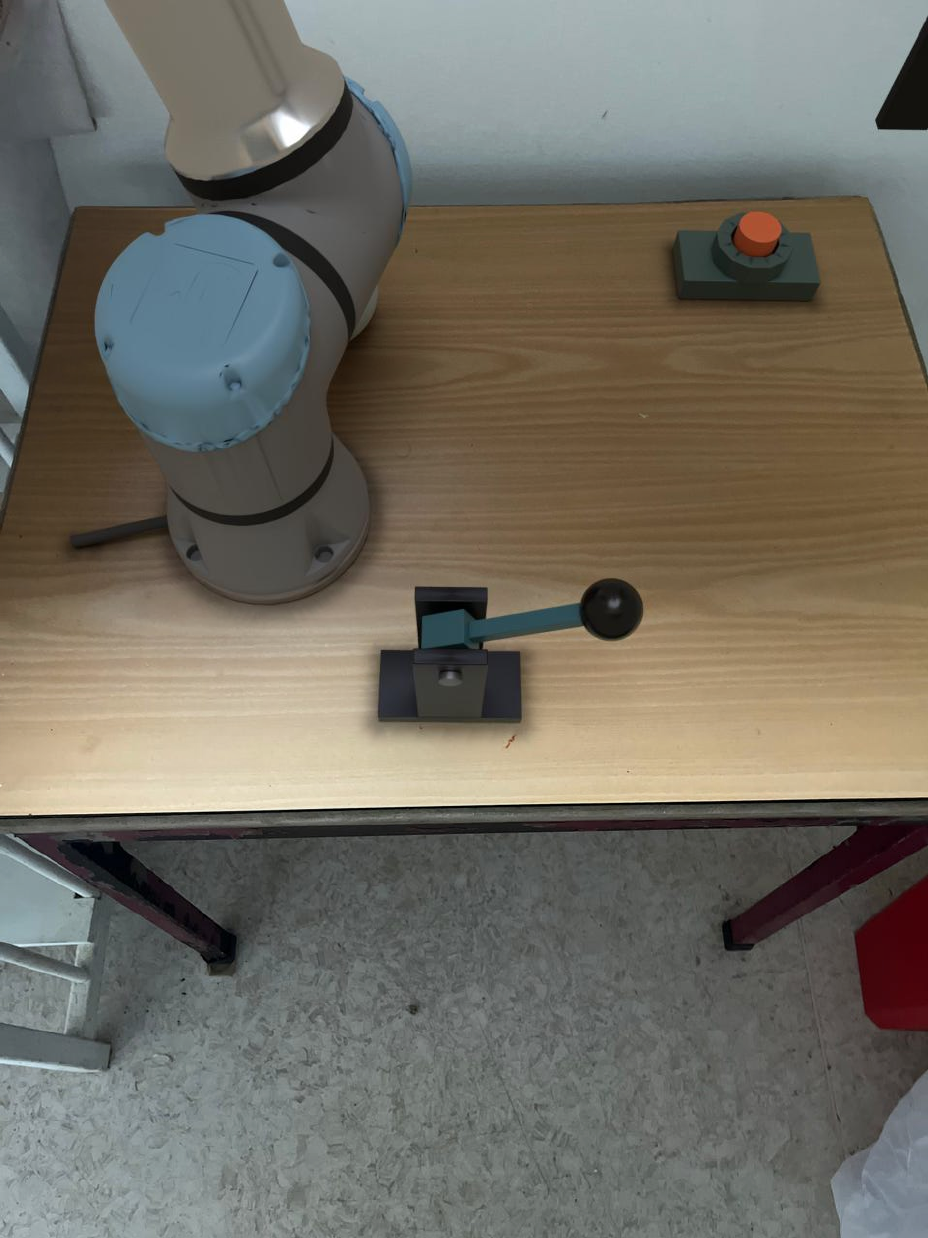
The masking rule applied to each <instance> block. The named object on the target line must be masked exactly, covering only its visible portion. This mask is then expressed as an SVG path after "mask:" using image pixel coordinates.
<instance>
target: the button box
mask: <svg viewBox="0 0 928 1238" xmlns="http://www.w3.org/2000/svg"><path fill="white" fill-rule="evenodd" d="M748 213H749V212H747V211H746V212H739V213H736V214H734V215H731V216H729V217H727V218H725V219H724V220H723V221H722V223H721V224H720V226H719V228H718V229H717V230H693V229H692V230H691V229H690V230H688V229H678V230H677V233H676V235H675V239H674V242H673V245H672V249H671V250H672V257H673V267H674V275H675V283H676V289H677V298H678V299H681V300H735V301H736V300H739V301H741V300H742V301H785V302H786V301H787V302H788V301H789V302H791V301H793V302H794V301H795V302H812V300H813V298H814V297H815V294H816V292H817V290H818V288H819V287H820V285H821V277H820V272H819V269H818V264H817V259H816V254H815V251H814V245H813V240H812V235H811V233H810V232H795V231H794V232H793V231H792V232H791V231H790V230H789V229H788V228H787V227H785V225H784V224H783V223H782V222H781V221H780V220H778V219H777V220H778V221H779V223H780V225H781V229H782V230H781V234H780V237H779V239H778V241H777V243H776V246H775V248H774V250H773V252H772V253H771V254H769V255H768V256H766V257H750V256H747V255H745V254H743V253H740V252H739V251H738V250H737V249H736V247H735V245H734V242H733V239H734V235H735V233H736V230H737V227H738V225H739V222H740V220H741V218H742V217H743V216H744V215H746V214H748Z"/></svg>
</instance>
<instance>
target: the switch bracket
mask: <svg viewBox="0 0 928 1238" xmlns="http://www.w3.org/2000/svg"><path fill="white" fill-rule="evenodd" d="M488 588H489V587H487V586H424V585H423V586H421V585H419V586H414V610H415V625H416V636H417V647H415V648H413V649H380V660H379V661H380V662H379V679H378V702H377V719H378V721H379V722H389V723H390V722H391V723H392V722H393V723H394V722H397V723H399V722H401V723H480V724H481V723H482V724H483V723H484V724H485V723H490V724H491V723H492V724H493V723H494V724H497V723H498V724H501V723H502V724H520V723H521V722H522V678H521V675H522V674H521V672H522V671H521V651H519V650H516V651H514V650H512V651H511V650H489V649H488V648H484V642H481V643H479V649H428V648H421V644H422V616H427V615H432V614H438V613H444V612H449V611H455V610H461V609H464V610H465V611H466V612H467V613H469V614H470V615H471V616H472V617H473V618H474V619H475V620H481V619H487V613H488V605H489V589H488Z"/></svg>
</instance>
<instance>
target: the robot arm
mask: <svg viewBox="0 0 928 1238" xmlns="http://www.w3.org/2000/svg"><path fill="white" fill-rule="evenodd" d="M103 2H104V4H105V6H106V7H107V9H108V10H109V13H110V14H111V15H112V17H113V19H114V21H115V22H116V24H117V26H118V27H119V29H120V31H121V33H122V34H123V36H124V38H125V39H126V41H127V43H128V45H129V46H130V48H131V50H132V52H133V53H134V54H135V57H136V58H137V60H138V62H139V64H140V65H141V67H142V69H143V70H144V72H145V73H146V75H147V77H148V79H149V81H150V82H151V84H152V86H153V87H154V89H155V91H156V92H157V95H158V96H159V98H160V99H161V101H162V103H163V105H164V106H165V108H166V109H167V111H168V113H169V118H168V121H167V126H166V131H165V135H164V137H163V138H164V139H163V151H164V155H165V158H166V160H167V162H168V163H169V166H170V168H171V169H172V170H173V172H174V174H175V175H176V177H177V178H178V180H179V182H180V184H181V185H182V187H183V188H184V189H185V191H186V193H187V195H188V196H189V198H190V199H191V201H192V202H193V205H194V208H195V214H192V215H188V216H187V215H186V216H182V217H177V218H174V219H171V220H168V221H166V222H164V225H163V226H164V232H162V233H161V234H159V235H154V234H153V233H151V232H149V231H146V232H144V233H142V234H141V235H139V236H138V237H137V238H136V239H134V240H133V241H132V242H131V243H129V244H128V245H127V246H126V248H125V249H124V250H123V251H122V252H121V253H120V254H119V255H118V256H117V257H116V259H115V260H114V261H113V263H112V264H111V266H110V267H109V269H108V271H107V272H106V274H105V276H104V278H103V281H102V283H101V285H100V287H99V291H98V293H97V299H96V303H95V308H94V336H95V340H96V345H97V348H98V352H99V355H100V358H101V361H102V362H103V365H104V366H105V369H106V375H107V378H108V380H109V382H110V384H111V389H112V391H113V394H114V395H115V397H116V400H117V401H118V403H119V405H120V406H121V408H122V409H123V411H124V412H125V414H126V415H127V417H128V418H129V419H130V421H132V423H133V424H134V426H135V428H136V429H137V431H138V433H139V434H140V437H141V438H142V440H143V442H144V443H145V445H146V447H147V448H148V450H149V452H150V454H151V455H152V457H153V459H154V460H155V463H156V464H157V467H158V468H159V471H160V472H161V473H162V475H163V478H164V480H165V481H166V483H167V492H166V496H167V497H166V501H167V502H166V514H164V515H160V516H155V517H150V518H145V519H141V520H136V521H132V522H127V523H126V522H125V523H121V524H118V525H114V526H109V527H105V528H102V529H96V530H92V531H88V532H84V533H78V534H72V535H70V536H69V542H70V545H71V547H72V548H78V547H86V546H89V545H93V544H94V545H95V544H98V543H103V542H107V541H111V540H115V539H120V538H124V537H129V536H133V535H138V534H142V533H146V532H147V533H148V532H151V531H156V530H162V529H166V528H168V531H169V535H170V536H169V537H170V539H171V542H172V545H173V547H174V549H175V551H176V553H177V555H178V556H179V558H180V559H181V561H182V562H183V563H184V565H185V567H186V568H187V570H188V571H189V572H190V573H191V575H192V576H193V577H194V578H195V579H196V580H197V581H199V582H200V583H201V584H202V585H204V586H205V587H206V588H207V589H209V590H211V591H213V592H214V593H216V594H218V595H220V596H222V597H224V598H227V599H230V600H233V601H236V602H237V601H238V602H240V603H247V604H253V605H254V604H255V605H275V604H282V603H288V602H292V601H296V600H299V599H302V598H306V597H308V596H311V595H313V594H315V593H317V592H319V591H321V590H322V589H324V588H325V587H328V586H329V585H330V584H331V583H333V582H334V581H336V580H337V579H338V578H339V577H341V575H343V574H344V573H345V572H346V571H347V570H348V569H349V567H351V565H352V564H353V562H355V560H356V559H357V557H358V556H359V554H360V552H361V551H362V548H363V546H364V544H365V542H366V540H367V536H368V534H369V529H370V524H371V518H372V517H371V512H372V511H371V501H370V494H369V489H368V484H367V481H366V480H367V479H366V477H365V475H364V472H363V470H362V469H361V467H360V465H359V463H358V461H357V459H356V458H355V456H354V455H353V453H352V452H351V451H350V450H349V448H347V447H346V446H345V445H344V444H343V443H342V441H341V440H340V439H339V438H338V436H337V435H336V434H335V433H334V431H332V426H331V421H330V416H329V412H328V406H327V395H328V391H329V390H328V389H329V387H330V384H331V381H332V379H333V377H334V375H335V373H336V371H337V368H338V366H339V364H340V362H341V360H342V358H343V356H344V354H345V352H346V349H347V347H348V345H349V342H350V341H351V340H350V338H351V337H352V335H353V333H354V331H355V329H356V327H357V325H358V323H359V321H360V319H361V317H362V315H363V313H364V311H365V309H366V307H367V305H368V303H369V300H370V298H371V296H372V294H373V292H374V290H375V288H376V286H378V285H379V282H380V281H381V278H382V276H383V274H384V272H385V270H386V268H387V266H388V264H389V262H390V260H391V259H392V257H393V254H394V253H395V250H396V249H397V247H398V246H399V243H400V242H401V240H402V236H403V233H404V227H405V224H406V220H407V215H408V213H409V209H410V205H411V201H412V196H413V170H412V169H413V168H412V164H411V159H410V155H409V151H408V148H407V146H406V142H405V140H404V138H403V135H402V132H401V130H400V129H399V127H398V125H397V123H396V122H395V120H394V118H393V117H392V115H391V114H390V113H389V112H388V110H387V109H386V107H385V106H384V105H383V104H382V103H381V102H380V101H379V99H378V100H377V99H376V100H374V101H372V100H371V99H369V98H368V97H366V96H365V95H364V93H365V91H366V90H365V87H363V86H362V85H361V84H359V83H358V82H356V81H355V80H353V79H351V78H350V77H348V76H347V75H344V73H343V71H342V68H341V67H340V65H339V63H338V61H337V60H336V59H335V58H334V57H333V56H331V55H329V54H328V53H326V52H324V51H322V50H319V49H316V48H315V47H312V46H309V45H307V44H304V43H303V42H302V40H301V38H300V36H299V35H300V34H299V33H298V30H297V28H296V26H295V23H294V21H293V19H292V16H291V14H290V12H289V9H288V7H287V4H286V1H285V0H103ZM874 122H875V125H876V127H877V130H878V131H879V130H884V131H928V15H927V16H926V17H925V21H924V22H923V24H922V26H921V28H920V29H919V32H918V35H917V37H916V39H915V40H914V42H913V44H912V47H911V49H910V50H909V52H908V55H907V56H906V58H905V60H904V62H903V64H902V67H901V68H900V71H899V72H898V73H897V76H896V78H895V80H894V82H893V84H892V86H891V88H890V90H889V91H888V94H887V95H886V97H885V98H884V101H883V103H882V106H881V107H880V109H879V111H878V113H877V114H876V117H875V119H874ZM349 340H350V341H349Z"/></svg>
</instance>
